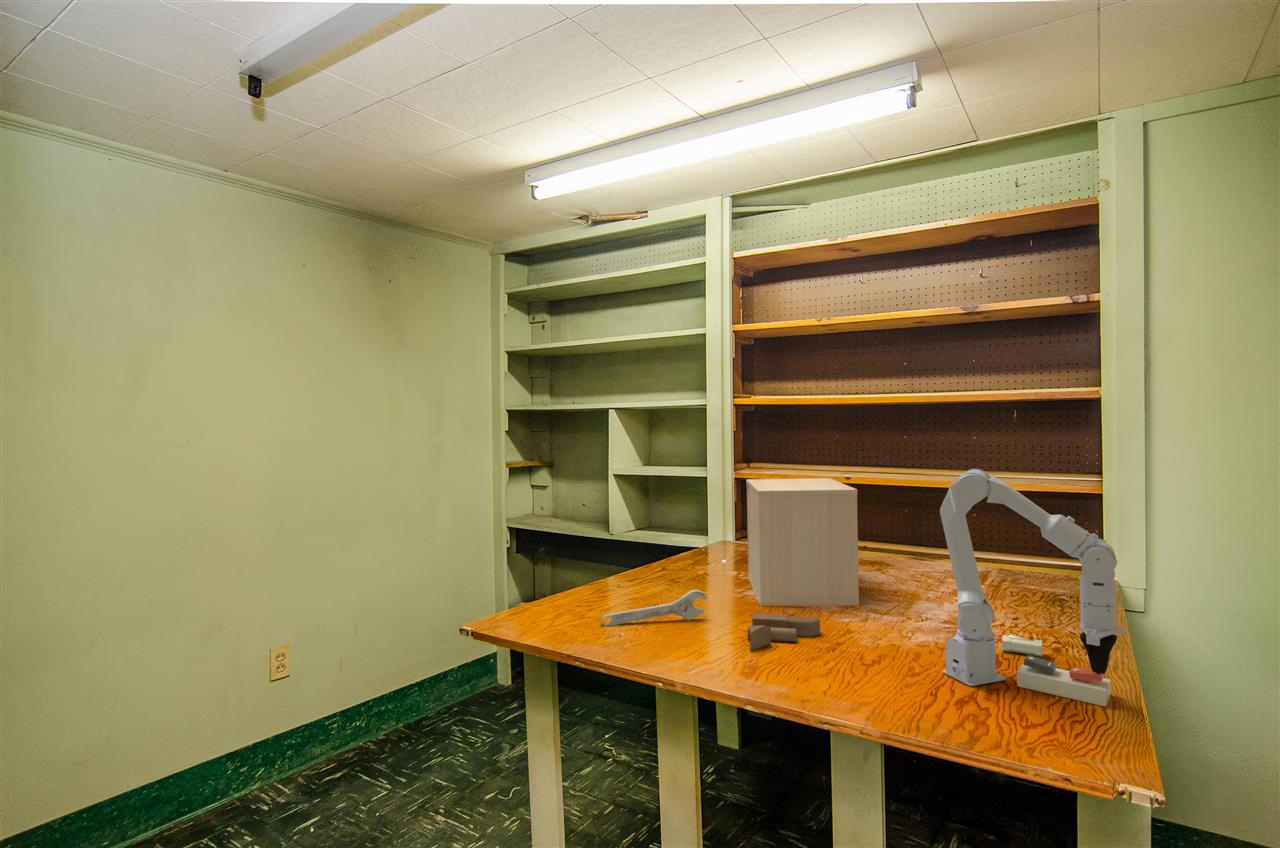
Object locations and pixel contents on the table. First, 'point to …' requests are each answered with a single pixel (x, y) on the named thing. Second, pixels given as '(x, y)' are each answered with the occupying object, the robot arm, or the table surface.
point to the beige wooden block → (802, 542)
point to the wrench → (660, 610)
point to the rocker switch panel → (1065, 685)
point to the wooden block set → (780, 629)
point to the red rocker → (1085, 674)
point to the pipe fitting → (1021, 645)
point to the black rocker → (1040, 664)
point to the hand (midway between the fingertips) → (1099, 671)
